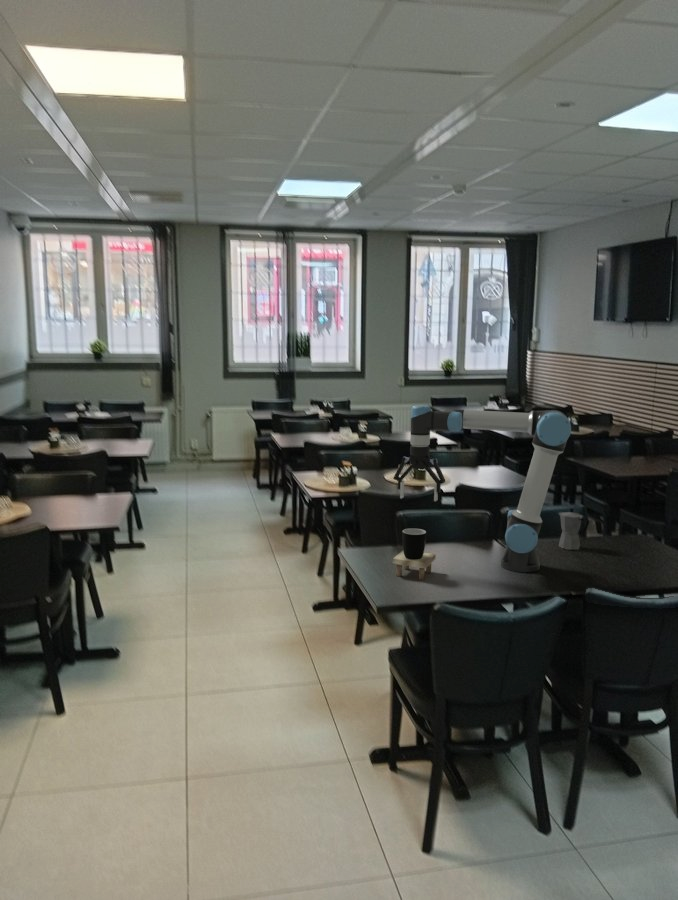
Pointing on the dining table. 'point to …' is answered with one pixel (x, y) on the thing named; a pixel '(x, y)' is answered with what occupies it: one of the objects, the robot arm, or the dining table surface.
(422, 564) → the footstool
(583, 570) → the dining table surface
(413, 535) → the mug
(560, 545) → the coffeepot
